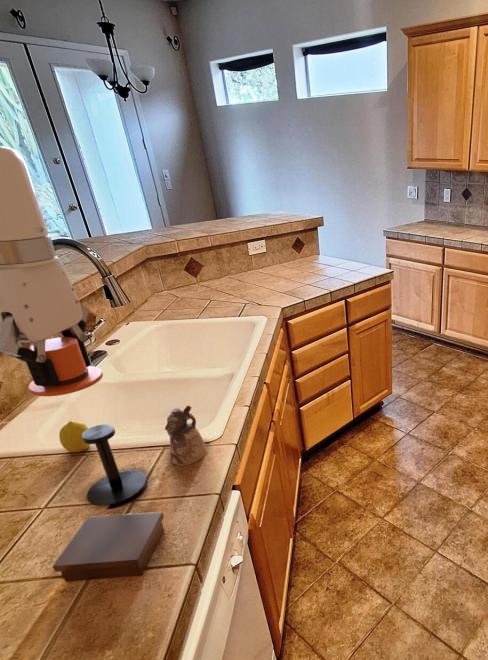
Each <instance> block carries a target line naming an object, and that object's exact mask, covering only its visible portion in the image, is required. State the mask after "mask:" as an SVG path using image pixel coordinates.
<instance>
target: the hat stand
mask: <svg viewBox="0 0 488 660" xmlns="http://www.w3.org/2000/svg"><path fill="white" fill-rule="evenodd" d="M88 428H89V429H87V430H86V431H84V432H83V434H82V439H83V442H84V443H86V444H90V445H95V448H96V450H97V453H98V457H99V458H100V462H101V464H102V467H103V470H104V473H105V475H106V476H104V477H102V478H101V479H99V480H98V481H96V482H95V483H93V485H91V487H90V488H88V490H87V493H86V500H87V501H88V502H89V503H91V504H92V505H95V506H107V508H106V510H113V509H116V508H120V507H123V506H126V505H128V504H130V503H132V502H134V501H135V500H137V499H138V498H139V497H141V496H142V495H143V494H144V492H145V491H146V490H147V488H148V483H149V482H148V479H147V476H146V475H145V473H144V472H142V471H141V470H135V469H133V470H132V469H127V470H121V471H119V468H118V465H117V462H116V460H115V457H114V454H113V451H112V448H111V445H110V442H109V440H111V438H113V437H114V436H115V434H116V428H115V426H114V425H112V424H109V423H108V424H98V425H95V426H92V427H88Z"/></svg>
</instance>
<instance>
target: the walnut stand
mask: <svg viewBox="0 0 488 660" xmlns="http://www.w3.org/2000/svg"><path fill="white" fill-rule="evenodd" d="M164 519H165V516H164V512H163V511H158V512H157V511H155V512H142V513H127V514H113V515H98V516H97V515H96V516H87V518H86V519H85V521H84V522H83V523H82V525H81V526H80V528H79V529H78V530H77V532H76V533H75V534H74V536H73V537H72V539H71V540H70V542H69V543H68V544H67V545H66V547H65V549H64V550H62V553H61V554H60V555H59V557H58V558H57V559H56V561H55V562H54V563H53V565H52V568H53V570H54V572H56V573H57V572H60V574H61V575H62V577H63V580H64V581H65V582H66V583H68V582H69V583H70V582H80V581H83V582H84V581H95V580H105V579H106V580H107V579H116V578H117V579H118V578H128V577H129V578H130V577H142V576H144V573H145V571H146V569H147V567H148V565H149V563H150V561H151V559H152V557H153V555H154V553H155V551H156V548H157V547H158V545H159V543H160V540H161V539H162V537H163V535H164V533H165V527H164V525H163V520H164Z"/></svg>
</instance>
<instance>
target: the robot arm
mask: <svg viewBox="0 0 488 660" xmlns="http://www.w3.org/2000/svg"><path fill="white" fill-rule="evenodd" d="M89 313H90V311H89V310H88V309H87V308H86V307H84V306H83V305H82V304H81V303H80V301H79V298H78V295H77V293H76V290H75V288H74V285H73V283H72V281H71V279H70V276H69V275H68V272H67V270H66V268H65V266H64V264H63V263H62V261H61V260H60V258H59V256H57V252H56V249H55V246H54V242H53V240H52V238H51V235H50V232H49V229H48V226H47V224H46V221H45V218H44V215H43V212H42V208H41V206H40V203H39V199H38V197H37V194H36V191H35V187H34V185H33V182H32V179H31V176H30V173H29V170H28V168H27V165H26V162H25V160H24V157H23V156H22V155H21V154H20V153H19V152H18V151H17V150H16V149H13V148H11V147H8V146H2V145H0V352H1V353H2V354H7V355H10V356H11V357H14V358H15V359H17V360H19V361H20V362H22V363H25V364H26V365H27V368H28V370H29V373H30V376H31V378H32V381H33V380H34V383H35V384H36V385H37V386H57V385H59V383H60V382H59V379H58V376H57V374H56V371H55V369H54V366H53V363H52V361H51V359H46V351H45V340H47V339H49V338H51V337H53V336H55V335H57V334H58V335H59V337H72V338H75V339H77V341H78V344H79V347H80V350H81V353H82V356H83V359H84V362H85V364H86V367H88V366H92V362H91V360H90V356H89V354H88V351H87V349H86V345H85V342H84V341H86V334H85V330H86V326H87V324H86V322H87V320H88V317H89V315H90V314H89ZM31 344H34V351H32V350H30V346H31Z"/></svg>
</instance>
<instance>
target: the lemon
mask: <svg viewBox="0 0 488 660" xmlns="http://www.w3.org/2000/svg"><path fill="white" fill-rule="evenodd" d="M89 428H90V427H89V426H88V425H86V424H85V423H83V422H81V421H77V420H75V421H72V420H71V421H70V420H69V421H68V422H67V423H65V424H64V425H63V426H61V428H60V430H59V435H58V437H59V442H60V444H61V446H62V447H63V448H64V450H66V451H67V452H70V453H81V452H84V451H85V450H87V449H88V448H90V446H91V444H86V443H84V442H83V439H82V434H83V432H84V431H86V430H87V429H89Z"/></svg>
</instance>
